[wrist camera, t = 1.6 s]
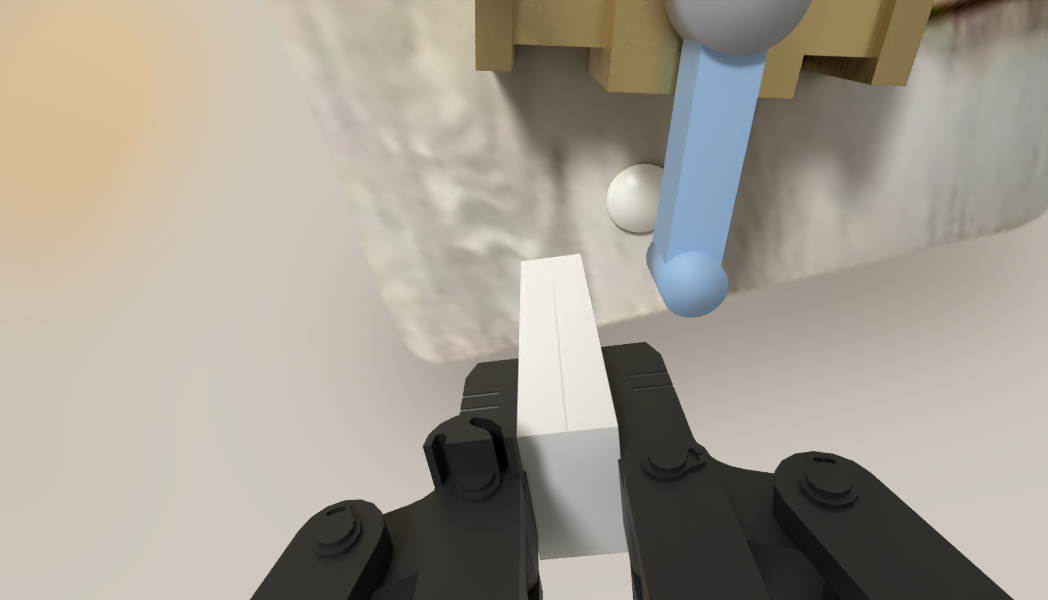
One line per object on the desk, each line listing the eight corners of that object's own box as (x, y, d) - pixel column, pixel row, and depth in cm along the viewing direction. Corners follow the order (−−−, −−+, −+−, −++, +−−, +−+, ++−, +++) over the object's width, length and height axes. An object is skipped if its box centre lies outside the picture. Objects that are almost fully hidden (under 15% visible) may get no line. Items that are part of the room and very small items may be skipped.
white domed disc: (610, 162, 34) (610, 163, 34) (681, 164, 34) (682, 165, 34) (602, 229, 36) (603, 231, 36) (670, 232, 36) (671, 233, 36)
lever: (674, -82, 20) (701, -99, 17) (792, -78, 21) (841, -93, 17) (626, 280, 27) (639, 315, 24) (714, 283, 27) (739, 319, 24)
